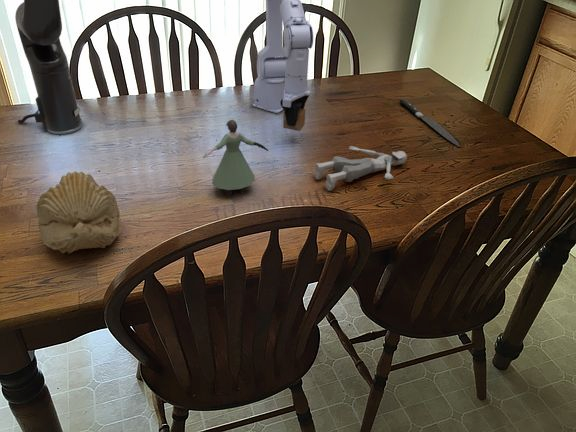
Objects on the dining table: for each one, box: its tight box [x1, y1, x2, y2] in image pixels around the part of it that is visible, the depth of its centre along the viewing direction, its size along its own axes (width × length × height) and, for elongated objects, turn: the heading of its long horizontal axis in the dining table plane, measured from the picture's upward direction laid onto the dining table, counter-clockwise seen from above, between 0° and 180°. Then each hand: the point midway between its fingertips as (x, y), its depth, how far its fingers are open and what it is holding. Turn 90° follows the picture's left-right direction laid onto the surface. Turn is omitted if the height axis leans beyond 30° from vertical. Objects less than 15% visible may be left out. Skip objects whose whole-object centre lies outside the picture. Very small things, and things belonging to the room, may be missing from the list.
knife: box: [398, 98, 461, 147], centre depth 152 cm, size 32×4×1 cm, turn 20°
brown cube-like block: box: [282, 108, 306, 132], centre depth 136 cm, size 5×4×5 cm
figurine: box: [313, 145, 408, 192], centre depth 125 cm, size 18×5×25 cm
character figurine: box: [202, 119, 270, 196], centre depth 113 cm, size 16×8×18 cm, turn 114°
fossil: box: [36, 170, 122, 254], centre depth 97 cm, size 15×17×15 cm
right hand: (294, 121), depth 136 cm, fingers closed on brown cube-like block, 4 cm apart
